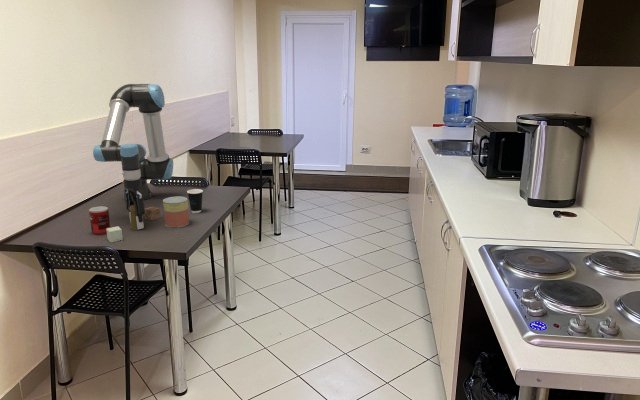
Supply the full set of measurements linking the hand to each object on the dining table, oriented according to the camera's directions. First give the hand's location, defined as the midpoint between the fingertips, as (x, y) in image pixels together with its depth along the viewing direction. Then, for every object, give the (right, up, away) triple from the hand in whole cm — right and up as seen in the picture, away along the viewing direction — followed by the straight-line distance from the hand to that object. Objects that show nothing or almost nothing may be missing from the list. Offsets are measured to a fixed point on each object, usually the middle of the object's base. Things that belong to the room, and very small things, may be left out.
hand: (137, 226), depth 221 cm
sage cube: (-4, -5, -15) cm, 16 cm away
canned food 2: (+17, +1, +6) cm, 18 cm away
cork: (0, -1, 0) cm, 1 cm away
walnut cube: (+2, +3, +14) cm, 14 cm away
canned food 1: (-14, -2, -6) cm, 15 cm away
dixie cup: (+21, +6, +25) cm, 33 cm away
